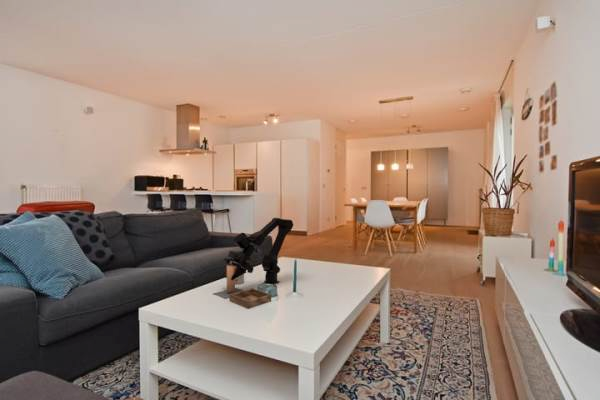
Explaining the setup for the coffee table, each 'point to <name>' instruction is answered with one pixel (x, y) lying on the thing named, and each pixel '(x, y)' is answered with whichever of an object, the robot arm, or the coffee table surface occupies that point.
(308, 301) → the coffee table surface
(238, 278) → the small box
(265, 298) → the crate
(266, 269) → the robot arm
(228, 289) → the tan cylinder
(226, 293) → the mat
